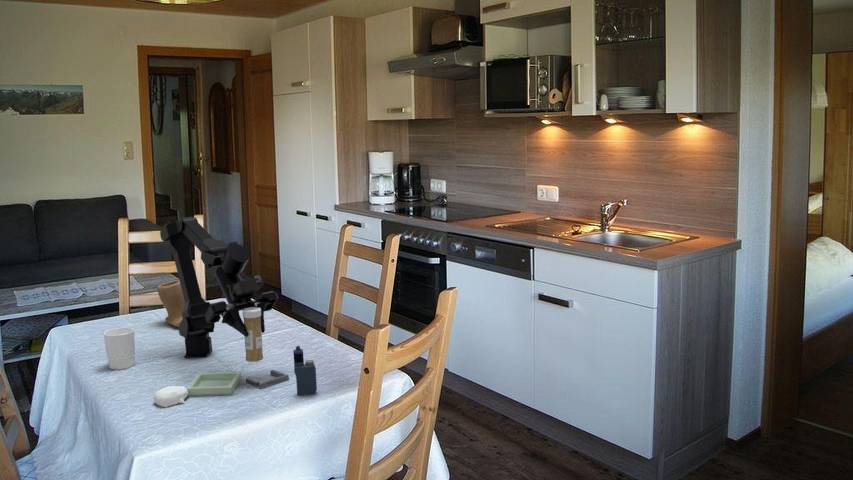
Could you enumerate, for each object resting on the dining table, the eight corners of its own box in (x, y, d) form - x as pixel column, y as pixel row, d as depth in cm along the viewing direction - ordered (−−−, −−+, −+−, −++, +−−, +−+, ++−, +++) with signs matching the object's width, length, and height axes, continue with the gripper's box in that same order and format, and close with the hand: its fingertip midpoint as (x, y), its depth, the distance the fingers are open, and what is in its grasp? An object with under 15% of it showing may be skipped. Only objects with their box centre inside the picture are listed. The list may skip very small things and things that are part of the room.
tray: (186, 396, 182) (186, 388, 182) (199, 380, 193) (198, 373, 193) (231, 394, 183) (231, 387, 182) (241, 379, 193) (241, 372, 193)
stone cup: (156, 323, 250) (152, 279, 248) (191, 316, 257) (188, 274, 254) (169, 333, 238) (165, 287, 235) (206, 326, 245) (202, 282, 242)
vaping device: (296, 391, 183) (293, 345, 181) (317, 390, 184) (314, 344, 182) (295, 395, 181) (292, 348, 179) (316, 394, 181) (314, 347, 179)
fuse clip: (245, 382, 191) (245, 378, 190) (273, 373, 197) (273, 369, 197) (260, 389, 186) (260, 384, 186) (288, 379, 192) (288, 375, 192)
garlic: (182, 394, 185) (181, 380, 184) (193, 401, 179) (192, 387, 179) (150, 403, 180) (149, 388, 179) (161, 410, 174) (159, 395, 174)
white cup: (143, 362, 209) (140, 328, 208) (123, 371, 202) (120, 336, 200) (120, 360, 212) (117, 326, 210) (100, 369, 205) (97, 334, 203)
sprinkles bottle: (265, 360, 189) (263, 309, 187) (248, 363, 187) (245, 312, 185) (260, 355, 193) (257, 305, 191) (243, 358, 191) (240, 308, 189)
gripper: (207, 272, 183) (231, 324, 177) (273, 261, 195) (298, 309, 189) (195, 297, 190) (218, 348, 184) (259, 285, 202) (283, 332, 196)
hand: (255, 333), depth 188 cm, fingers closed on sprinkles bottle, 4 cm apart
